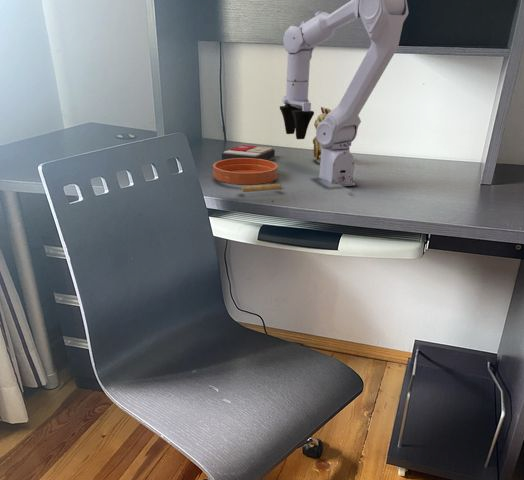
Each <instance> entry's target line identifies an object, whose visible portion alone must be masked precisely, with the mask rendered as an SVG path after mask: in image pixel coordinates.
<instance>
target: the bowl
mask: <svg viewBox="0 0 524 480" xmlns="http://www.w3.org/2000/svg"><path fill="white" fill-rule="evenodd" d="M278 175H279V164H277V163H276V162H275V161H271V160H263V159H254V158H233V159H226V160H222V159H221V160H218V161H216V162H214V163H213V164H212V176H213V178H214V179H215V180H216V181H218V182H222V183H225V184H231V185H240V186H241V185H242V186H253V185H264V184H269V183H271V182H274V181H276V180H277V179H278V178H279V176H278Z"/></svg>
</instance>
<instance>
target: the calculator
mask: <svg viewBox="0 0 524 480" xmlns="http://www.w3.org/2000/svg"><path fill="white" fill-rule="evenodd" d="M275 155H276V150H275V149H274V148H273V147H268V146H256V145H248V144H247V145H246V144H241V145H238V146H236V147H232V148H229V150H225V151H223V152H222V153H221V160H226V159H233V158H254V159H263V160H268V161H270V160H271V159H272V158H274V157H275Z"/></svg>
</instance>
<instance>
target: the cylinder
mask: <svg viewBox="0 0 524 480" xmlns="http://www.w3.org/2000/svg"><path fill="white" fill-rule="evenodd" d="M281 186H282V185H281V184H280V183H270V184H269V183H266V184H253V185H242V186H241V187H240V190H241V192H243V193H249V192H262V191H276V190H281V188H282V187H281Z"/></svg>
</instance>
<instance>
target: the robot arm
mask: <svg viewBox="0 0 524 480" xmlns="http://www.w3.org/2000/svg"><path fill="white" fill-rule="evenodd" d="M408 15H409V6H408V1H407V0H350V1H348V2H347V3H345V4H343V5H342V6H340V7H338V8H337V9H336V10H334V11H333V12H331V13H328V12H327V11H317V12H315V13H314V17H312V18H310V19H309V20H303V21H302V22H301V23H300V25H299V26H295V25H290V26H289V27H288V28H287V29H286V30H285V31H284V34H283V38H282V39H283V40H282V43H283V47H284V50H285V51H286V52H287V60H286V61H287V64H286V65H287V66H286V91H285V92H286V94H285V95H283V98H282V99H281V103H283V105H280V106H279V110H280V113H281V114H282V118H283V122H284V123H283V124H284V129H285V134H286V135H294V134H295V139H296V140H305V139H306V136H307V132H308V127H309V125H310V122H311V120H312V118H313V116H314V115H315V111H313V110H312V103H311V102H310V100H309V87H310V86H309V85H310V84H309V82H310V65H311V60H312V57H313V51H314V49H315V48H316V47H317V46H319V45H321V44H323V43H324V42H327V41H328V40H330V39H332V38H333V37H334V35H335V33H336V30H337V29H339V28H341V27H344V26H345V25H346V26H347V25H348V24H350V23H352V22H354V21H356V20H359V19H361V22H362V24H363V26H364V29H365V30H366V33H367V35H368V37H369V39H370V43H371V44H370V46H369V48H368V50H367V51H366V53H365V55H364V57H363V59H362V61H361V63H360V65H359V66H358V68H357V70H356V72H355V73H354V76H353V77H352V79H351V80H350V82H349V85H348V86H347V88H346V90H345V92H344V94H343V96H342V97H341V99H340V101H339V103H338V105H337V106H335V108H333V109H332V110H331V112H329V113H328V114H327V116H326V118H325V119H324V120H323V121H321V122H320V123H319V124H318V126H317V129H316V128H315V136H316V137H317V140H318V142H319V144H320V147H321V160H320V163H319V175H318V178H319V179H320V180H324V181H326V182H328V183H329V184H332V185H333V184H339V185H341V186H342V187H353V186H356V183H355V182H353V179H354V168H355V158H354V156H353V154H352V153H351V151H350V147H352V142H353V141H354V140H355V139H356V138H357V136H358V129H359V126H360V125H361V122H362V120H361V117H360V116H359V115H360V113H361V112H362V109H363V108H364V106H365V105H366V103H367V101H368V100H369V98H370V96H371V94H372V92H373V91H374V89H375V88H376V86H377V84H378V82H379V81H380V79H381V77H382V76H383V74H384V72H385V70H386V69H387V67H388V65H389V64H390V62H391V60H392V59H393V57H394V55H395V54H396V51H397V50H398V48H399V45H400V40H401V36H402V35H401V34H402V31H403V25H404V22H405V20H406V19H407V17H408Z"/></svg>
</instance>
